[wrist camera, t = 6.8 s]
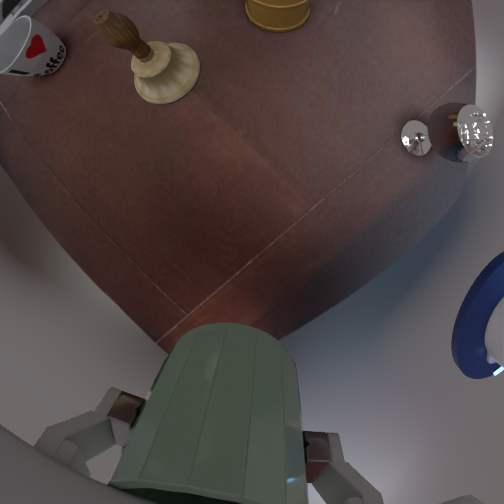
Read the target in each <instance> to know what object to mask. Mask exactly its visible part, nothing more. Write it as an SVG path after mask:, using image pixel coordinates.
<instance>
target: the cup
mask: <svg viewBox="0 0 504 504" xmlns="http://www.w3.org/2000/svg"><path fill="white" fill-rule="evenodd" d="M65 56H66V48H65V46H64V44H63V43H62V42H61V40H60V39H59V38H58V36H56V35H55V34H54V33H53V32H52V31H51V30H49V29H48V28H47V27H46V26H44V25H43V24H41V23H39V22H37V21H36V20H34V19H32V18H30V17H29V16H21V17H19V18H17V19H16V20H14V21H13V22H12V23H11V24H10V25H9V26H8V27H7V28H6V29H5V31H4V32H3V33H2V35H1V36H0V74H8V75H16V76H40V75H46V74H51V73H53V72H55V71H56V70H57V69H58V68H59V67H60V66H61V64H62V63H63V61H64V59H65Z"/></svg>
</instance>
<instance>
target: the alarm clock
mask: <svg viewBox="0 0 504 504" xmlns="http://www.w3.org/2000/svg"><path fill="white" fill-rule="evenodd" d="M47 1H49V0H0V36H1V35H2V33H3V32H4V31H5V29H6V28H7V27H8V26H9V25H10V24H11V23H12V22H13V21H14V20H16V19H17V18H19V17H21V16H29V17H30V18H31V17H32V16H33V15H34V14H35V13H36V12H37V11H38V10H39V9H40V8H41V7H42V6H43V5H44V4H45V3H46V2H47Z"/></svg>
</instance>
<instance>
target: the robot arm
mask: <svg viewBox="0 0 504 504" xmlns="http://www.w3.org/2000/svg"><path fill="white" fill-rule="evenodd" d="M484 340H485V346H486V349H487V362H488V363H490V364H492V363H496V362H497V363H498V364H499V365H500V366H502V367H501V368H499V369H498V370H496V371H495V372H494V373H493V374H494V375H496V374H498V373H499V372H501V371H502V370H503V369H504V296H503V298H502V299H501V300H500V301H499V303H498V304H497V306H496V307H495V309H494V311H493V313H492V315H491V317H490V319H489V321H488V324H487V327H486V331H485V339H484ZM144 401H145V399H143V398H140V397H137V396H135V395H132V394H129V393H127V392H124V391H121V390H118V389H116V388H113V387H112V388H110V389H109V390H108V391H107V393H106V394H105V396H104V397H103V399H102V401H101V402H100V404H99V406H98V407H97V409H96V410H95V412H93V411H89V412H87V413H84V414H82V415H79V416H77V417H74V418H71V419H69V420H66V421H63V422H61V423H58V424H55V425H52V426H50V427H47V429H46V430H45V431H44V433H43V434H42V436H41V437H40V438H39V440H38V441H37V443H36V444H35V445H34V447H33V446H31V445H30V444H28V443H27V442H25V441H24V440H22V439H20V438H19V437H18V436H16V435H15V434H13V433H12V432H11V431H9V430H7V429H6V428H5V427H4V426H2V425H1V424H0V504H160V503H157V502H153V501H150V500H147V499H144V498H141V497H138V496H135V495H132V494H129V493H127V492H124V491H121V490H119V489H116V488H113V487H111V486H109V485H106V484H104V483H101V482H99V481H97V480H94V479H92V478H90V475H91V474H90V472H89V470H88V468H87V466H86V463H85V462H86V461H88V460H90V459H91V458H93V457H95V456H97V455H98V454H100V453H102V452H103V451H105V450H107V449H108V448H110V447H112V446H113V445H115V444H117V445H120V446H123V444H124V442H125V440H126V437H127V435H128V433H129V431H130V429H131V427H132V425H133V423H134V421H135V419H136V417H137V415H138V413H139V411H140V409H141V407H142V405H143V403H144ZM303 437H304V448H305V460H306V472H307V483H312V485H313V486H314V487H315V489H316V490H317V492H318V493H319V494H320V496H321V497H322V498H323V500H324V501H325V502H326V504H384V503H383V499H382V496H381V493H380V492H379V491H377V490H376V489H375V488H374V487H373V486H372V485H371V484H370V483H369V482H368V481H367V480H366V479H365V478H364V477H362V476H361V475H360V474H359V473H358V472H357V471H356V470H355V469H354V468H353V467H352V466H351V465H350V464H349V463H348V462H345V461H344V456H343V452H342V447H341V442H340V438H339V434H338V433H325V432H312V431H303ZM440 504H484V503H483V502H481V501H480V500H478V499H477V498H475V497H473V496H471V495H465V496H461V497H458V498H456V499H453V500H450V501H447V502H444V503H440Z"/></svg>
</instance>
